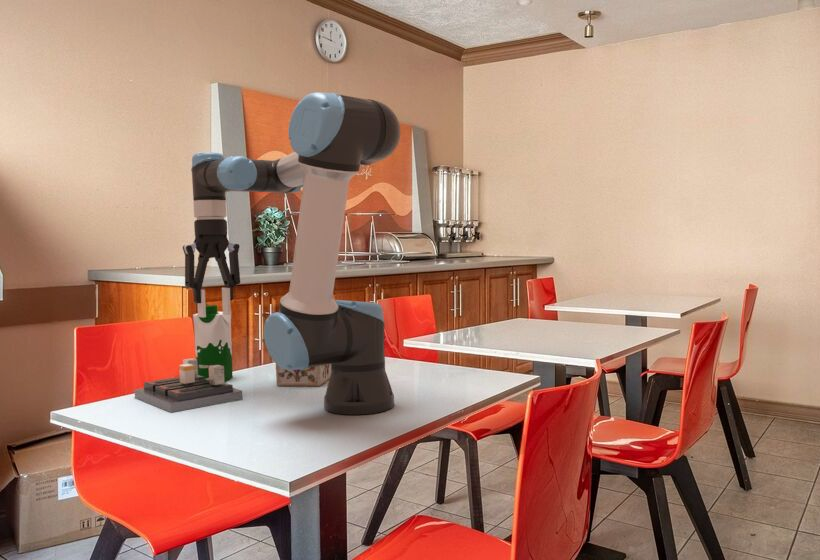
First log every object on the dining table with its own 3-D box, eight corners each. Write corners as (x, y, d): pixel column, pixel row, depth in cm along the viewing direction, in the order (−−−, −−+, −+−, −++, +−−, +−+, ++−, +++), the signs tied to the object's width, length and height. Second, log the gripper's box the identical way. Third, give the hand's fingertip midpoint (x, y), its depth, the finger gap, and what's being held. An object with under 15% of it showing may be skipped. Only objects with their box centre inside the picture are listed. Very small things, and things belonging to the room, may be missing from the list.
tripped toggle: (195, 382, 163) (194, 365, 163) (184, 383, 161) (184, 366, 161) (189, 380, 165) (189, 363, 165) (179, 382, 163) (178, 365, 163)
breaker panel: (242, 399, 161) (241, 365, 161) (171, 412, 150) (169, 376, 149) (202, 386, 177) (201, 355, 176) (134, 397, 166) (133, 364, 165)
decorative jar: (320, 387, 173) (318, 314, 172) (275, 386, 175) (272, 315, 174) (333, 377, 185) (331, 309, 184) (290, 377, 186) (288, 310, 185)
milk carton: (192, 383, 181) (189, 307, 179) (206, 376, 190) (203, 303, 188) (225, 383, 180) (222, 306, 178) (237, 376, 189) (234, 303, 187)
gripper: (238, 219, 175) (242, 311, 176) (165, 219, 163) (170, 318, 164) (253, 218, 169) (257, 313, 171) (179, 218, 157) (183, 320, 158)
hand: (214, 315), depth 167 cm, fingers open, 6 cm apart
